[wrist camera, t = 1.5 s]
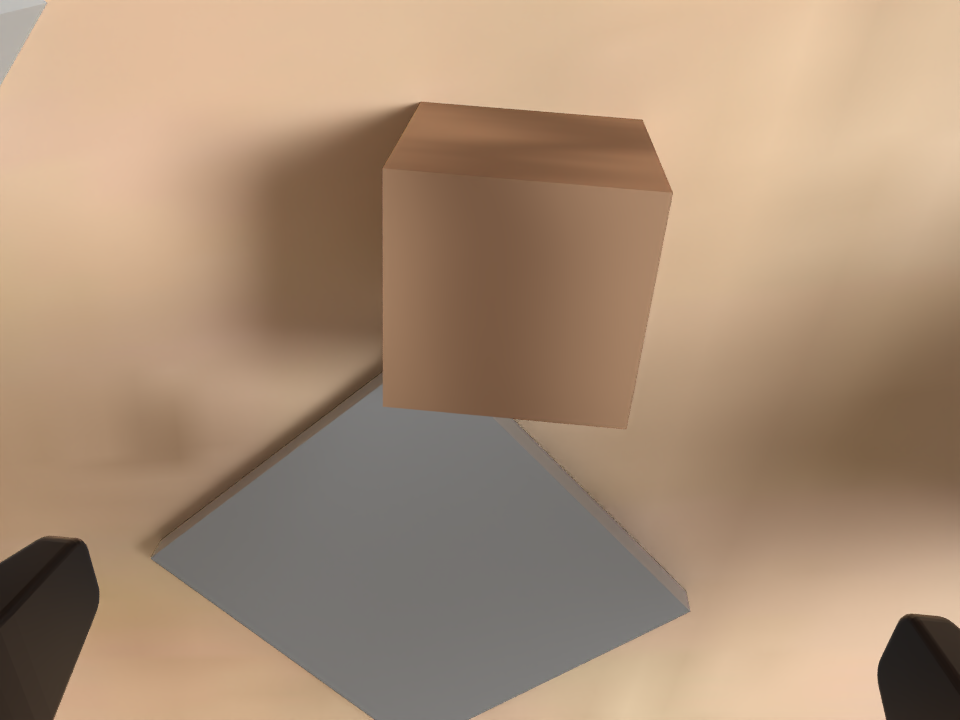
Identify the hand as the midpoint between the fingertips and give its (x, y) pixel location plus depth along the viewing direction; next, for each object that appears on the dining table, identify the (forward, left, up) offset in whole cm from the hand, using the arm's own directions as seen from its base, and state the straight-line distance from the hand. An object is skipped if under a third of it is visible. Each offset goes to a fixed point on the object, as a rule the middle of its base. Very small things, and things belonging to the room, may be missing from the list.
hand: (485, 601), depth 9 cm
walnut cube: (0, 0, -12) cm, 12 cm away
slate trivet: (-7, +10, -12) cm, 17 cm away
